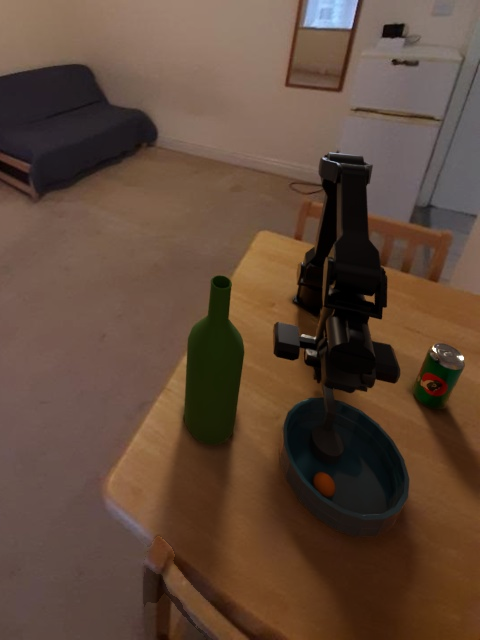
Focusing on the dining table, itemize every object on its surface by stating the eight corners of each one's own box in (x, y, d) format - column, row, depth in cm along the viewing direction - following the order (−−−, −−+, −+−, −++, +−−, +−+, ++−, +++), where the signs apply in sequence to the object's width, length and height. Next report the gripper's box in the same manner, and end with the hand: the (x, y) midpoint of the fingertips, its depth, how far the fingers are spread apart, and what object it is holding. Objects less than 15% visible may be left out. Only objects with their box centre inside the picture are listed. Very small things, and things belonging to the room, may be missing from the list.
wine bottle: (236, 403, 75) (254, 267, 61) (232, 453, 68) (251, 311, 54) (188, 389, 78) (195, 256, 64) (179, 436, 71) (185, 296, 56)
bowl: (257, 459, 67) (261, 440, 64) (314, 398, 76) (320, 378, 73) (364, 572, 54) (374, 552, 52) (418, 482, 63) (429, 462, 61)
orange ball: (313, 478, 64) (306, 485, 62) (323, 464, 63) (317, 471, 61) (330, 497, 62) (325, 505, 60) (341, 483, 61) (336, 490, 59)
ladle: (343, 468, 64) (353, 442, 61) (310, 458, 65) (318, 433, 62) (329, 379, 77) (337, 354, 74) (302, 372, 79) (309, 347, 76)
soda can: (450, 413, 72) (473, 368, 67) (418, 408, 73) (439, 363, 68) (436, 387, 77) (457, 343, 71) (406, 382, 78) (425, 339, 72)
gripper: (280, 346, 61) (268, 410, 68) (424, 378, 56) (395, 444, 63) (278, 294, 71) (268, 355, 78) (401, 317, 65) (378, 380, 72)
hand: (323, 382), depth 72 cm, fingers closed on ladle
